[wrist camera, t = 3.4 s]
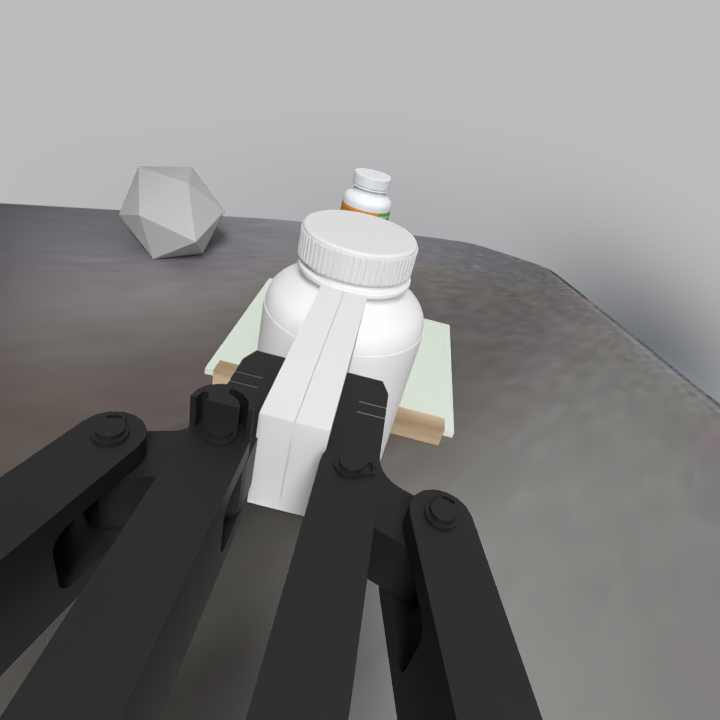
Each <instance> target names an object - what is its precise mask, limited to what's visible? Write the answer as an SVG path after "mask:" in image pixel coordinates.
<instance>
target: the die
mask: <svg viewBox="0 0 720 720" xmlns="http://www.w3.org/2000/svg"><path fill="white" fill-rule="evenodd" d="M223 213H224V210H223V208H222V207H221V206H220V204H219V203H218V202H217V200H216V199H215V197H214V196H213V195H212V194H211V192H210V191H209V190H208V188H207V187H206V185H205V184H204V183H203V181H202V180H201V179H200V177H199V176H198V175H197V173H196V172H195V171H194V170H193V168H192V167H138V169H137V172H136V174H135V177H134V179H133V181H132V184H131V186H130V189H129V191H128V194H127V196H126V199H125V201H124V203H123V206H122V208H121V211H120V213H119V216H120V217H121V218H122V219H123V221H124V222H125V223H126V225H127V226H128V227H129V228H130V230H131V231H132V232H133V234H134V235H135V236H136V238H137V239H138V240H139V241H140V243H141V244H142V245H143V247H144V248H145V249H146V250H147V252H148V253H149V254H150V256H151V257H152V258H153V259H159V258H168V257H177V256H186V255H196V254H203V252H204V250H205V248H206V246H207V244H208V243H209V241H210V239H211V237H212V235H213V233H214V231H215V229H216V227H217V225H218V223H219V221H220V219H221V217H222V215H223Z"/></svg>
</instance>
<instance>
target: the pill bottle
mask: <svg viewBox="0 0 720 720" xmlns="http://www.w3.org/2000/svg"><path fill="white" fill-rule="evenodd" d="M417 252H418V246H417V242H416V240H415V238H414V237H413V236H412V235H411V234H410V233H409V232H408V231H407V230H405V229H404V228H402V227H400V226H399V225H397V224H395V223H392V222H390V221H388V220H385V219H382V218H379V217H376V216H373V215H369V214H365V213H360V212H355V211H347V210H323V211H317V212H314V213H312V214H310V215H308V216H307V217H306V218H305V219H304V220H303V222H302V225H301V231H300V238H299V245H298V253H299V256H298V263H295V264H293V265H290V266H288V267H287V268H285V269H283V270H282V271H281V272H279V273H278V274H277V275H276V276H275V277H274V279H273V280H272V282H271V283H270V285H269V287H268V289H267V291H266V293H265V296H264V301H263V308H262V316H261V324H260V333H259V341H258V349H257V351H261V352H265V353H269V354H273V355H276V356H280V357H284V358H286V357H287V355H288V353H289V351H290V349H291V346H292V344H293V342H294V340H295V338H296V336H297V334H298V332H299V330H300V328H301V326H302V324H303V322H304V320H305V318H306V316H307V313H308V311H309V309H310V307H311V305H312V303H313V301H314V299H315V297H316V295H317V293H318V291H319V289H320V287H321V285H322V286H326V287H330V288H334V289H338V290H341V291H345V292H349V293H353V294H357V295H361V296H365V297H367V300H366V305H365V309H364V313H363V317H362V321H361V325H360V329H359V333H358V337H357V341H356V345H355V349H354V353H353V357H352V361H351V365H350V369H349V372H348V373H352V374H356V375H360V376H364V377H368V378H372V379H376V380H380V381H383V383H384V385H385V388H386V390H387V392H388V402H387V408H386V416H385V424H384V431H383V438H382V445H381V453H380V461H381V458H382V455H383V452H384V449H385V446H386V443H387V440H388V437H389V434H390V431H391V428H392V425H393V423H394V420H395V417H396V414H397V411H398V408H399V405H400V402H401V399H402V396H403V393H404V390H405V387H406V384H407V381H408V378H409V375H410V372H411V369H412V366H413V363H414V361H415V358H416V355H417V352H418V349H419V346H420V343H421V339H422V336H423V331H424V319H423V313H422V309H421V306H420V304H419V302H418V300H417V299H416V297H415V296H414V294H413V293H412V292H411V291H410V290H409V289H408V288H409V286H410V282H411V279H410V276H411V273H412V270H413V266H414V263H415V259H416V256H417Z"/></svg>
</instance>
